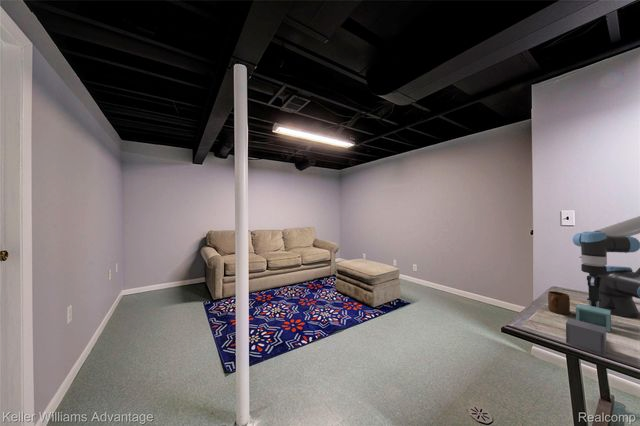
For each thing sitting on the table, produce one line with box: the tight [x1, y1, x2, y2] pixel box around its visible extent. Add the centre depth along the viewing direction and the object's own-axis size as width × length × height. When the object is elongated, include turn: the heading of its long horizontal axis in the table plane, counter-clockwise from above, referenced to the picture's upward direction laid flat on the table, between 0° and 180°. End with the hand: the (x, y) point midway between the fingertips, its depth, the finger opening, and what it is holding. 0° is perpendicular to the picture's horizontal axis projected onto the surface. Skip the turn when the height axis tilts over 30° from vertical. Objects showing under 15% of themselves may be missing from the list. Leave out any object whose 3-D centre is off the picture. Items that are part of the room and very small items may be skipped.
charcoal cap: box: [565, 317, 608, 356], centre depth 85 cm, size 7×9×8 cm
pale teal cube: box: [575, 303, 612, 333], centre depth 100 cm, size 7×9×8 cm
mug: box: [547, 290, 571, 316], centre depth 113 cm, size 12×8×9 cm, turn 118°
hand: (594, 314), depth 104 cm, fingers closed
